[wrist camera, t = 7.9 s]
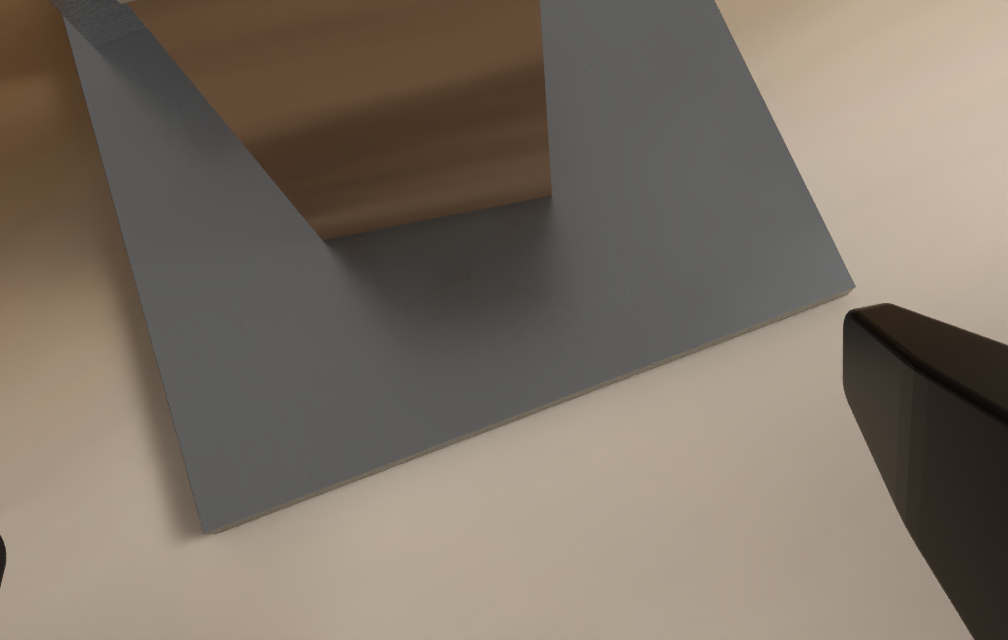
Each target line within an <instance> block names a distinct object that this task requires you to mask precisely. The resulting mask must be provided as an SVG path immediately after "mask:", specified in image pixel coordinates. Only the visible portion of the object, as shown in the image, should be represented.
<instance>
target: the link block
mask: <svg viewBox="0 0 1008 640" xmlns="http://www.w3.org/2000/svg"><path fill="white" fill-rule="evenodd" d="M117 1H118V2H119V3H120V4H121V3H127V4H128V5H129V6H130V8H131V9H132V10H133V11H134V13H135V14H136V15H137V16H138V17H139V19H140V20H141V21H142V22H143V23H144V25H145V26H146V27H147V28H148V30H149V31H150V32H151V33H152V34H153V36H154V37H155V38H156V39H157V40H158V42H159V43H160V44H161V45H162V47H163V48H164V49H165V50H166V51H167V53H168V54H169V55H170V56H171V57H172V59H173V60H174V61H175V62H176V64H177V65H178V66H179V67H180V68H181V70H182V71H183V72H184V73H185V74H186V76H187V77H188V78H189V79H190V81H191V82H192V83H193V84H194V85H195V87H196V88H197V89H198V90H199V91H200V93H201V94H202V95H203V96H204V98H205V99H206V100H207V101H208V102H209V104H210V105H211V106H212V107H213V108H214V110H215V111H216V112H217V113H218V114H219V116H220V117H221V118H222V119H223V121H224V122H225V123H226V124H227V125H228V127H229V128H230V129H231V130H232V131H233V133H234V134H235V135H236V136H237V138H238V139H239V140H240V141H241V142H242V144H243V145H244V146H245V147H246V148H247V150H248V151H249V152H250V153H251V155H252V156H253V157H254V158H255V159H256V161H257V162H258V163H259V164H260V165H261V167H262V168H263V169H264V170H265V172H266V173H267V174H268V175H269V176H270V178H271V179H272V180H273V181H274V182H275V184H276V185H277V186H278V187H279V189H280V190H281V191H282V192H283V193H284V195H285V196H286V197H287V198H288V199H289V201H290V202H291V203H292V204H293V206H294V207H295V208H296V209H297V210H298V212H299V213H300V214H301V215H302V216H303V218H304V219H305V220H306V221H307V222H308V224H309V225H310V226H311V227H312V229H313V230H314V231H315V232H316V233H317V235H318V236H319V237H320V238H321V239H322V241H323V240H328V239H333V238H338V237H343V236H348V235H353V234H359V233H364V232H369V231H374V230H379V229H384V228H389V227H394V226H399V225H404V224H410V223H415V222H420V221H425V220H430V219H435V218H440V217H445V216H450V215H455V214H460V213H466V212H471V211H476V210H481V209H486V208H491V207H496V206H501V205H506V204H511V203H516V202H522V201H527V200H532V199H537V198H542V197H547V196H552V187H551V171H550V155H549V139H548V123H547V107H546V91H545V74H544V58H543V42H542V26H541V10H540V0H117Z"/></svg>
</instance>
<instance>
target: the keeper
mask: <svg viewBox="0 0 1008 640" xmlns="http://www.w3.org/2000/svg"><path fill="white" fill-rule="evenodd" d="M49 1H50V3H51V4H52V5H53V6H54V7H55V8H56V9H57V10H58V11H59V12H60V13H61V14H62V16H63V19H64V23H65V27H66V30H67V34H68V38H69V41H70V45H71V49H72V52H73V56H74V60H75V63H76V67H77V71H78V74H79V78H80V82H81V85H82V89H83V92H84V96H85V100H86V103H87V107H88V111H89V114H90V118H91V122H92V125H93V129H94V133H95V136H96V140H97V144H98V147H99V151H100V155H101V158H102V162H103V166H104V169H105V173H106V177H107V180H108V184H109V188H110V191H111V195H112V199H113V202H114V206H115V210H116V213H117V217H118V221H119V224H120V228H121V232H122V235H123V239H124V243H125V246H126V250H127V254H128V257H129V261H130V265H131V268H132V272H133V276H134V279H135V283H136V287H137V290H138V294H139V298H140V301H141V305H142V309H143V312H144V316H145V320H146V323H147V327H148V331H149V334H150V338H151V342H152V345H153V349H154V353H155V356H156V360H157V364H158V367H159V371H160V375H161V378H162V382H163V386H164V389H165V393H166V397H167V400H168V404H169V408H170V411H171V415H172V419H173V422H174V426H175V430H176V433H177V437H178V441H179V444H180V448H181V452H182V455H183V459H184V463H185V466H186V470H187V474H188V477H189V481H190V484H191V488H192V492H193V495H194V499H195V503H196V506H197V510H198V514H199V517H200V521H201V525H202V528H203V532H204V534H217V533H220V532H222V531H225V530H228V529H230V528H233V527H236V526H238V525H241V524H243V523H246V522H249V521H251V520H254V519H257V518H259V517H262V516H265V515H267V514H270V513H272V512H275V511H278V510H280V509H283V508H286V507H288V506H291V505H294V504H296V503H299V502H301V501H304V500H307V499H309V498H312V497H315V496H317V495H320V494H323V493H325V492H328V491H331V490H333V489H336V488H338V487H341V486H344V485H346V484H349V483H352V482H354V481H357V480H360V479H362V478H365V477H367V476H370V475H373V474H375V473H378V472H381V471H383V470H386V469H389V468H391V467H394V466H396V465H399V464H402V463H404V462H407V461H410V460H412V459H415V458H418V457H420V456H423V455H425V454H428V453H431V452H433V451H436V450H439V449H441V448H444V447H447V446H449V445H452V444H454V443H457V442H460V441H462V440H465V439H468V438H470V437H473V436H476V435H478V434H481V433H483V432H486V431H489V430H491V429H494V428H497V427H499V426H502V425H505V424H507V423H510V422H513V421H515V420H518V419H520V418H523V417H526V416H528V415H531V414H534V413H536V412H539V411H542V410H544V409H547V408H549V407H552V406H555V405H557V404H560V403H563V402H565V401H568V400H571V399H573V398H576V397H578V396H581V395H584V394H586V393H589V392H592V391H594V390H597V389H600V388H602V387H605V386H607V385H610V384H613V383H615V382H618V381H621V380H623V379H626V378H629V377H631V376H634V375H636V374H639V373H642V372H644V371H647V370H650V369H652V368H655V367H658V366H660V365H663V364H665V363H668V362H671V361H673V360H676V359H679V358H681V357H684V356H687V355H689V354H692V353H695V352H697V351H700V350H702V349H705V348H708V347H710V346H713V345H716V344H718V343H721V342H724V341H726V340H729V339H731V338H734V337H737V336H739V335H742V334H745V333H747V332H750V331H753V330H755V329H758V328H760V327H763V326H766V325H768V324H771V323H774V322H776V321H779V320H782V319H784V318H787V317H789V316H792V315H795V314H797V313H800V312H803V311H805V310H808V309H811V308H813V307H816V306H818V305H821V304H824V303H826V302H829V301H832V300H834V299H837V298H840V297H842V296H845V295H847V294H848V293H849V292H851V291H852V290H853V289H854V288H855V287H856V286H855V284H854V282H853V280H852V278H851V276H850V274H849V272H848V270H847V268H846V266H845V264H844V262H843V260H842V258H841V256H840V254H839V252H838V250H837V248H836V246H835V244H834V242H833V240H832V238H831V236H830V234H829V232H828V230H827V228H826V225H825V223H824V221H823V219H822V217H821V215H820V213H819V211H818V209H817V207H816V205H815V203H814V201H813V199H812V197H811V195H810V193H809V191H808V189H807V187H806V185H805V183H804V181H803V179H802V177H801V175H800V173H799V171H798V169H797V167H796V165H795V163H794V161H793V159H792V157H791V155H790V153H789V151H788V149H787V146H786V144H785V142H784V140H783V138H782V136H781V134H780V132H779V130H778V128H777V126H776V124H775V122H774V120H773V118H772V116H771V114H770V112H769V110H768V108H767V106H766V104H765V102H764V100H763V98H762V96H761V94H760V92H759V90H758V88H757V86H756V84H755V82H754V80H753V78H752V76H751V74H750V72H749V70H748V68H747V65H746V63H745V61H744V59H743V57H742V55H741V53H740V51H739V49H738V47H737V45H736V43H735V41H734V39H733V37H732V35H731V33H730V31H729V29H728V27H727V25H726V23H725V21H724V19H723V17H722V15H721V13H720V11H719V9H718V7H717V5H716V3H715V1H714V0H540V10H541V26H542V42H543V58H544V74H545V91H546V107H547V123H548V139H549V155H550V171H551V187H552V196H547V197H542V198H537V199H532V200H527V201H522V202H516V203H511V204H506V205H501V206H496V207H491V208H486V209H481V210H476V211H471V212H466V213H460V214H455V215H450V216H445V217H440V218H435V219H430V220H425V221H420V222H415V223H410V224H404V225H399V226H394V227H389V228H384V229H379V230H374V231H369V232H364V233H359V234H353V235H348V236H343V237H338V238H333V239H328V240H323V241H322V239H321V238H320V237H319V236H318V235H317V233H316V232H315V231H314V230H313V229H312V227H311V226H310V225H309V224H308V222H307V221H306V220H305V219H304V218H303V216H302V215H301V214H300V213H299V212H298V210H297V209H296V208H295V207H294V206H293V204H292V203H291V202H290V201H289V199H288V198H287V197H286V196H285V195H284V193H283V192H282V191H281V190H280V189H279V187H278V186H277V185H276V184H275V182H274V181H273V180H272V179H271V178H270V176H269V175H268V174H267V173H266V172H265V170H264V169H263V168H262V167H261V165H260V164H259V163H258V162H257V161H256V159H255V158H254V157H253V156H252V155H251V153H250V152H249V151H248V150H247V148H246V147H245V146H244V145H243V144H242V142H241V141H240V140H239V139H238V138H237V136H236V135H235V134H234V133H233V131H232V130H231V129H230V128H229V127H228V125H227V124H226V123H225V122H224V121H223V119H222V118H221V117H220V116H219V114H218V113H217V112H216V111H215V110H214V108H213V107H212V106H211V105H210V104H209V102H208V101H207V100H206V99H205V98H204V96H203V95H202V94H201V93H200V91H199V90H198V89H197V88H196V87H195V85H194V84H193V83H192V82H191V81H190V79H189V78H188V77H187V76H186V74H185V73H184V72H183V71H182V70H181V68H180V67H179V66H178V65H177V64H176V62H175V61H174V60H173V59H172V57H171V56H170V55H169V54H168V53H167V51H166V50H165V49H164V48H163V47H162V45H161V44H160V43H159V42H158V40H157V39H156V38H155V37H154V36H153V34H152V33H151V32H150V31H149V30H148V28H147V27H146V26H145V25H144V23H143V22H142V21H141V20H140V19H139V17H138V16H137V15H136V14H135V13H134V11H133V10H132V9H131V8H130V6H129V5H128V4H127V3H121V4H120V3H119V2H118V1H117V0H49Z"/></svg>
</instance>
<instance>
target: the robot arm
mask: <svg viewBox="0 0 1008 640" xmlns="http://www.w3.org/2000/svg"><path fill="white" fill-rule="evenodd" d="M843 386H844V391H845V395H846V398H847V401H848V404H849V406H850V408H851V410H852V413H853V415H854V417H855V419H856V421H857V424H858V426H859V428H860V430H861V432H862V434H863V437H864V439H865V441H866V443H867V445H868V448H869V450H870V452H871V454H872V456H873V458H874V461H875V463H876V465H877V467H878V469H879V472H880V474H881V476H882V478H883V480H884V482H885V485H886V487H887V489H888V491H889V493H890V496H891V498H892V500H893V502H894V504H895V506H896V508H897V510H898V512H899V515H900V517H901V519H902V521H903V523H904V525H905V527H906V528H907V530H908V532H909V534H910V535H911V537H912V539H913V540H914V542H915V544H916V546H917V547H918V549H919V551H920V552H921V554H922V556H923V557H924V559H925V560H926V562H927V564H928V565H929V567H930V569H931V570H932V572H933V573H934V575H935V577H936V578H937V580H938V582H939V583H940V585H941V586H942V588H943V590H944V591H945V593H946V595H947V596H948V598H949V599H950V601H951V603H952V604H953V606H954V608H955V609H956V611H957V612H958V614H959V616H960V617H961V619H962V621H963V622H964V624H965V625H966V627H967V629H968V630H969V632H970V634H971V635H972V637H973V638H974V640H1008V345H1006V344H1003V343H1000V342H997V341H995V340H992V339H989V338H986V337H983V336H981V335H978V334H975V333H972V332H969V331H967V330H964V329H961V328H958V327H955V326H952V325H950V324H947V323H944V322H941V321H938V320H936V319H933V318H930V317H927V316H924V315H922V314H919V313H916V312H913V311H910V310H908V309H905V308H902V307H899V306H896V305H894V304H890V303H882V304H877V305H872V306H867V307H862V308H857V309H853V310H850V311H849V312H848V313H847V314H846V316H845V319H844V323H843ZM5 566H6V548H5V545H4V541H3V539H2V537H1V535H0V587H1V583H2V578H3V574H4V570H5Z"/></svg>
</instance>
